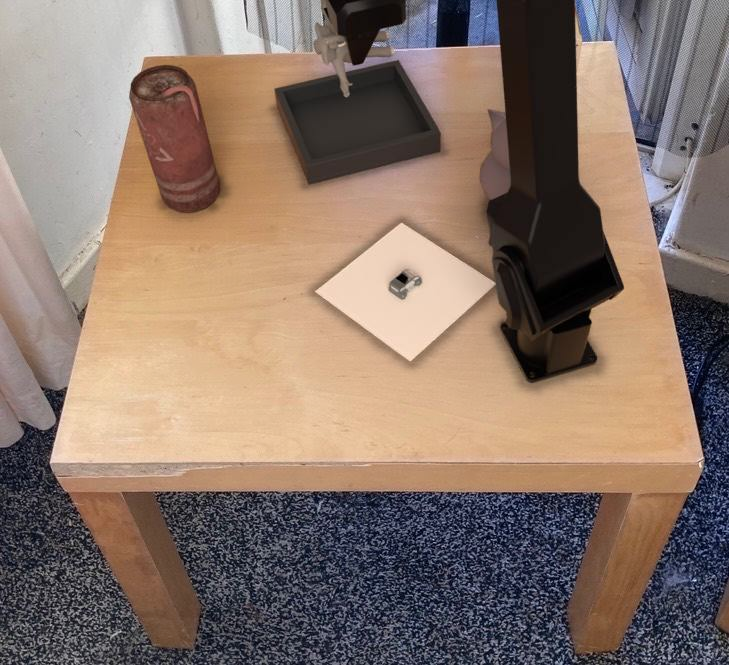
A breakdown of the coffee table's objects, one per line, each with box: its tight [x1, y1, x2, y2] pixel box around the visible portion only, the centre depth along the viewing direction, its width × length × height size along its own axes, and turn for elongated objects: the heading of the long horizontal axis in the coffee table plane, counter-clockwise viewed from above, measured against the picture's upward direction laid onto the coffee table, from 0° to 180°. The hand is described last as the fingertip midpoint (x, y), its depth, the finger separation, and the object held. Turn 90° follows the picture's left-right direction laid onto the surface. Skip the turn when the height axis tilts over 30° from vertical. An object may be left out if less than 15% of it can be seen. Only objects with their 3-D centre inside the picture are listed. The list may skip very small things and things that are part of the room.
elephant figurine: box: [312, 0, 395, 97], centre depth 84 cm, size 10×6×9 cm
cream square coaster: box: [314, 222, 496, 362], centre depth 79 cm, size 12×12×2 cm
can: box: [128, 64, 221, 214], centre depth 83 cm, size 6×6×14 cm
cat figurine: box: [478, 108, 511, 202], centre depth 80 cm, size 8×8×12 cm
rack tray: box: [273, 59, 442, 185], centre depth 93 cm, size 14×15×3 cm
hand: (347, 46), depth 84 cm, fingers closed on elephant figurine, 6 cm apart
